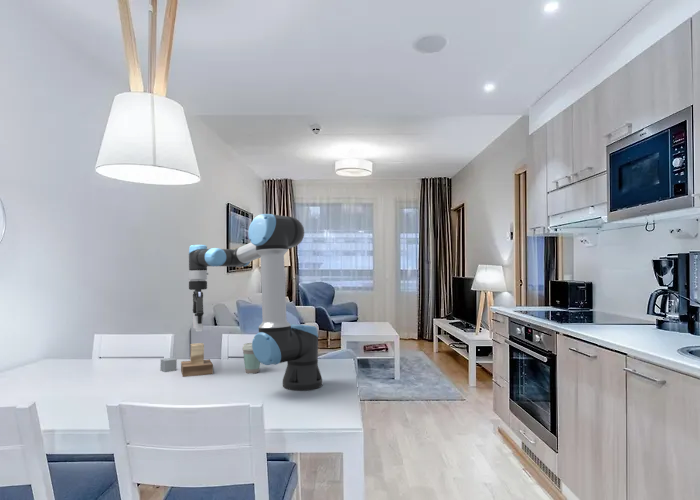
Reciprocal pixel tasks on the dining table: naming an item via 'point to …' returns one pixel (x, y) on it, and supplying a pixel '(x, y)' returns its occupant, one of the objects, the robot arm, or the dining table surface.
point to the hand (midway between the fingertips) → (197, 329)
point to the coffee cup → (250, 359)
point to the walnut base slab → (196, 368)
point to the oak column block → (197, 353)
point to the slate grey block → (168, 364)
